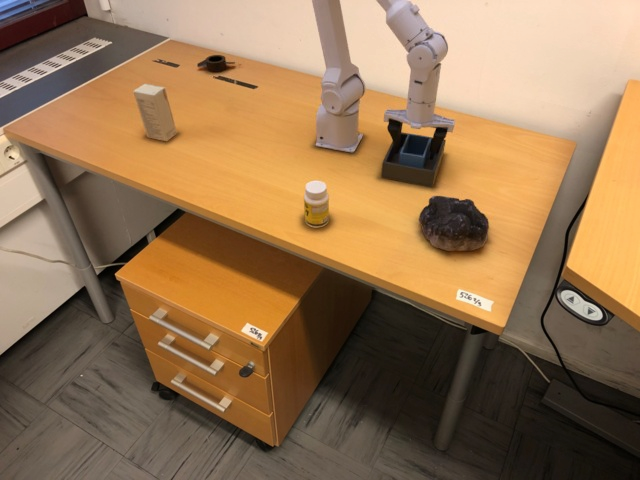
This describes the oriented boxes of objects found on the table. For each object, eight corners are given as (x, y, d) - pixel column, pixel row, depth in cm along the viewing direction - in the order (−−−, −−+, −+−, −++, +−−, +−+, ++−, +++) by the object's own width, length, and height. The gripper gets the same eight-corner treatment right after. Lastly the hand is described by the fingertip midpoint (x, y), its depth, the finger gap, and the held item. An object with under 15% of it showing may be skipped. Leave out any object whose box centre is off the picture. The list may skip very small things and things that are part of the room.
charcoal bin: (381, 177, 112) (382, 162, 109) (395, 146, 121) (396, 131, 118) (432, 187, 109) (435, 172, 106) (443, 154, 118) (445, 139, 116)
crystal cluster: (441, 204, 106) (442, 164, 99) (504, 226, 99) (510, 185, 92) (405, 242, 99) (404, 202, 93) (470, 269, 92) (474, 228, 85)
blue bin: (421, 176, 111) (424, 157, 108) (397, 172, 113) (399, 153, 109) (428, 156, 117) (431, 137, 114) (406, 152, 118) (408, 133, 115)
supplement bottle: (304, 213, 104) (302, 179, 98) (327, 212, 104) (327, 178, 98) (305, 229, 100) (304, 195, 94) (329, 227, 100) (329, 193, 95)
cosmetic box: (177, 133, 127) (166, 87, 118) (166, 142, 124) (155, 95, 116) (156, 128, 129) (144, 82, 120) (145, 136, 126) (132, 90, 118)
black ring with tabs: (211, 60, 158) (209, 51, 156) (238, 66, 154) (236, 57, 153) (195, 70, 153) (193, 60, 151) (223, 76, 150) (221, 67, 148)
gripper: (381, 100, 103) (377, 157, 112) (455, 111, 99) (444, 170, 108) (390, 85, 108) (385, 141, 117) (460, 95, 104) (450, 152, 113)
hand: (414, 154), depth 113 cm, fingers open, 7 cm apart
